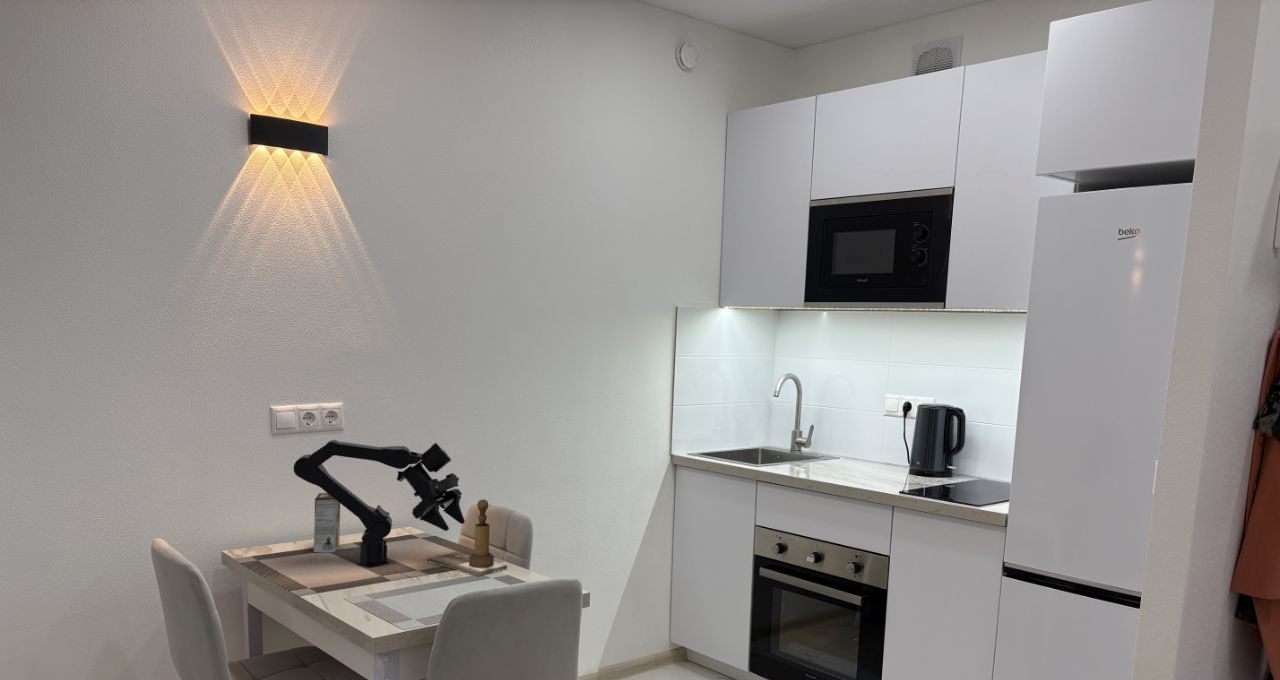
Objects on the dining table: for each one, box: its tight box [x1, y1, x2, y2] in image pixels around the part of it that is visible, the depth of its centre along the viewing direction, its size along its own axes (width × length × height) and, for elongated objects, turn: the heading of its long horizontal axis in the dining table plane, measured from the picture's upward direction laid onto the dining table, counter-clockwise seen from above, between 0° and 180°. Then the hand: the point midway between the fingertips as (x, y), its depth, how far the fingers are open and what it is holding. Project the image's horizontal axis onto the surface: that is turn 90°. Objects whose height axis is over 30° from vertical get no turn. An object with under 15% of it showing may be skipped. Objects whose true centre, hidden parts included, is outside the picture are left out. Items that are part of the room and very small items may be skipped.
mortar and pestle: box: [469, 499, 495, 568], centre depth 236 cm, size 7×6×18 cm
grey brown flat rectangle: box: [426, 551, 508, 577], centre depth 240 cm, size 10×22×1 cm, turn 50°
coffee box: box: [313, 492, 341, 553], centre depth 255 cm, size 9×6×16 cm
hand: (455, 526), depth 239 cm, fingers open, 9 cm apart
